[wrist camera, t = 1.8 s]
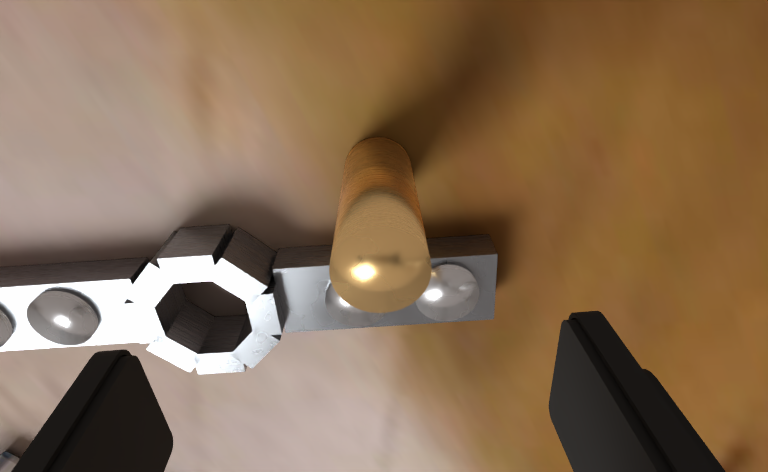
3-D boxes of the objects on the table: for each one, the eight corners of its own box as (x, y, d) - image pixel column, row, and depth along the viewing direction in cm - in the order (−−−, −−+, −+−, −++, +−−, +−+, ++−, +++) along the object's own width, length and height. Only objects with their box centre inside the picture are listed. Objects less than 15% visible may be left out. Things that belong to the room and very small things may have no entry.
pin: (410, 134, 22) (430, 223, 14) (412, 197, 23) (432, 309, 15) (341, 139, 22) (322, 230, 14) (348, 201, 23) (335, 316, 15)
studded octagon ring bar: (490, 206, 23) (504, 235, 21) (484, 318, 27) (496, 355, 24) (-75, 245, 24) (-131, 278, 21) (-8, 350, 27) (-49, 390, 25)
